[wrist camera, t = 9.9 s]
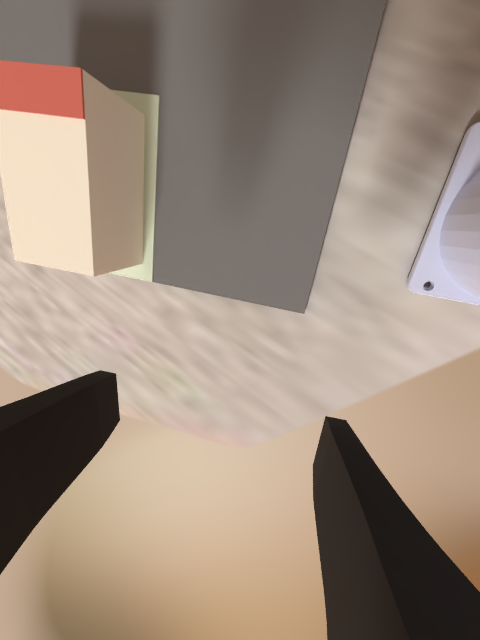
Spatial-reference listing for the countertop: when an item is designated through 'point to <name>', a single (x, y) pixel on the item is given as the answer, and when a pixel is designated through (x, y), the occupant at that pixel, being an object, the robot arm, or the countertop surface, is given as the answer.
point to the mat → (222, 124)
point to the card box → (70, 169)
